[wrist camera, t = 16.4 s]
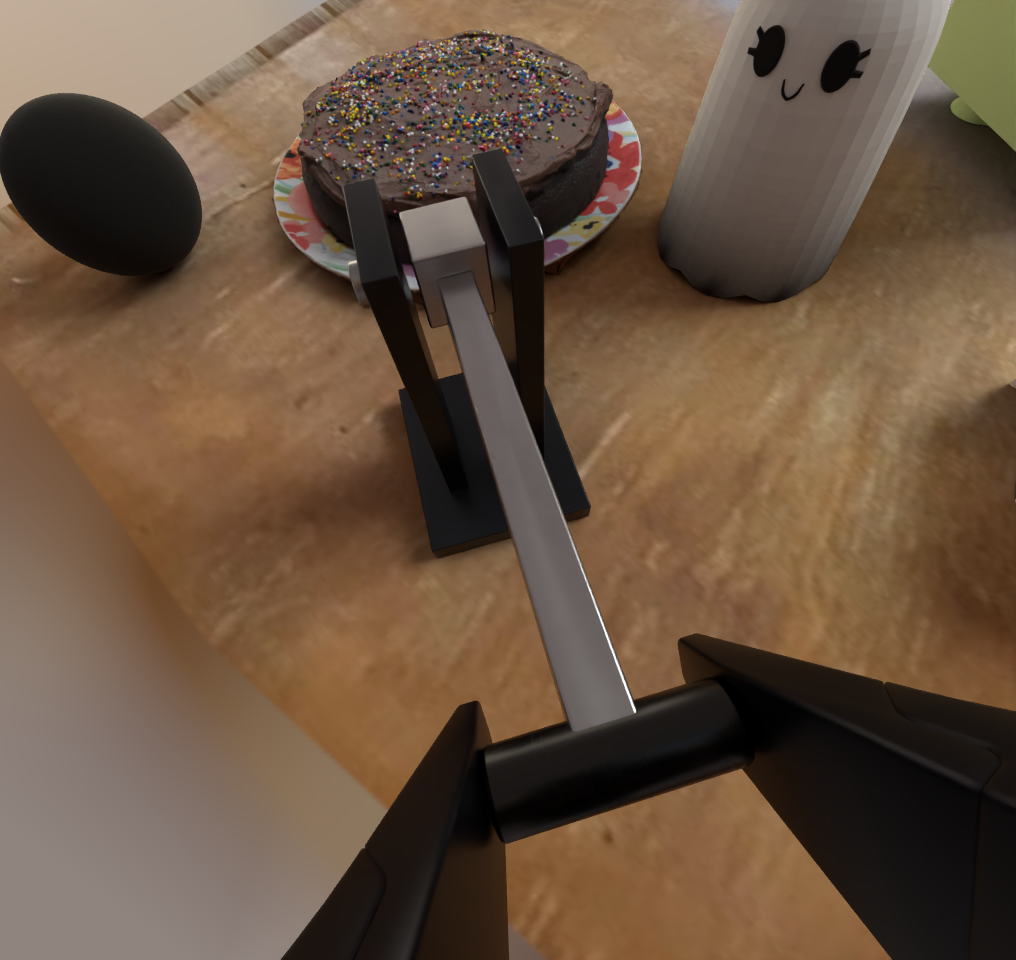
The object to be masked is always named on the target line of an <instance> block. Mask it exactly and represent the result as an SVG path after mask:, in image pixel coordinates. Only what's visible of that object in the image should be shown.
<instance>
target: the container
mask: <svg viewBox="0 0 1016 960" xmlns="http://www.w3.org/2000/svg"><path fill="white" fill-rule="evenodd" d="M928 67H929V68H930V69H931V70H932V71H933V72H934V73H935V74H936V75H937V76H938V77H939V78H940V79H941V80H942V81H943V82H944V83H945V84H946V85H948V86H949V87H950V88H951V89H952V90H953V91H954V92H955V93H956V94H957V95H958V96H959V98H957V99H955V100H954V101H953V102H952V103H951V111H952V112H953V113H954V114H955V115H956V116H957V117H958V118H960V119H962V120H964V121H966V122H970V123H973V124H978V125H989V126H990V127H991V128H992V129H993V130H994V131H995V132H996V133H997V134H998V135H999V136H1000V137H1001V138H1002V139H1003V140H1004V141H1005V142H1006V143H1007V144H1008V145H1009V146H1010V147H1011V148H1012V149H1014V150H1015V151H1016V0H955V1H954V2H953V4H952V6H951V8H950V9H949V12H948V15H947V18H946V21H945V24H944V27H943V30H942V33H941V36H940V38H939V41H938V43H937V46H936V48H935V50H934V53H933V55H932V58H931V60H930V62H929V64H928Z"/></svg>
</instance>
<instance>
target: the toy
mask: <svg viewBox="0 0 1016 960" xmlns="http://www.w3.org/2000/svg"><path fill="white" fill-rule="evenodd" d="M950 2H951V0H741V2H740V4H739V6H738V8H737V11H736V13H735V15H734V18H733V20H732V23H731V25H730V27H729V30H728V33H727V35H726V38H725V40H724V43H723V45H722V48H721V51H720V53H719V56H718V59H717V61H716V64H715V67H714V69H713V72H712V75H711V77H710V80H709V83H708V86H707V88H706V91H705V94H704V97H703V100H702V102H701V105H700V108H699V111H698V113H697V116H696V119H695V122H694V125H693V127H692V130H691V133H690V136H689V139H688V141H687V144H686V147H685V150H684V153H683V155H682V158H681V161H680V164H679V167H678V170H677V173H676V175H675V178H674V181H673V184H672V187H671V190H670V193H669V196H668V199H667V202H666V205H665V208H664V211H663V214H662V217H661V220H660V223H659V227H658V243H657V244H658V249H659V253H660V257H661V259H662V260H663V261H664V262H665V263H666V264H667V265H668V266H669V267H672V268H675V269H678V270H681V272H682V273H683V274H684V276H685V277H686V278H687V280H688V281H689V282H690V284H691V285H692V286H694V287H695V288H697V289H698V290H700V291H701V292H703V293H704V294H706V295H710V296H716V297H722V298H727V297H734V296H742V295H747V296H750V297H752V298H755V299H757V300H760V301H781V300H783V299H786V298H788V297H791V296H794V295H796V294H797V293H799V292H800V291H802V290H803V289H804V288H806V287H807V286H808V285H810V284H811V283H813V282H814V281H817V280H820V279H821V278H822V277H823V276H824V275H825V274H826V272H827V271H828V269H829V267H830V265H831V263H832V261H833V259H834V257H835V256H836V254H837V252H838V250H839V248H840V246H841V244H842V242H843V240H844V238H845V236H846V234H847V232H848V231H849V229H850V227H851V225H852V223H853V221H854V219H855V217H856V215H857V213H858V211H859V209H860V207H861V205H862V203H863V201H864V199H865V197H866V195H867V193H868V191H869V188H870V186H871V184H872V182H873V180H874V178H875V176H876V174H877V172H878V170H879V168H880V166H881V164H882V162H883V160H884V158H885V156H886V153H887V151H888V149H889V147H890V145H891V143H892V141H893V139H894V137H895V135H896V133H897V131H898V129H899V127H900V124H901V122H902V120H903V118H904V116H905V114H906V112H907V110H908V108H909V106H910V103H911V101H912V99H913V97H914V95H915V93H916V91H917V88H918V86H919V84H920V82H921V80H922V78H923V75H924V73H925V71H926V69H927V66H928V64H929V62H930V60H931V58H932V55H933V53H934V50H935V48H936V46H937V43H938V41H939V38H940V36H941V33H942V30H943V27H944V24H945V21H946V18H947V15H948V12H949V7H950Z"/></svg>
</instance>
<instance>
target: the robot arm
mask: <svg viewBox="0 0 1016 960" xmlns="http://www.w3.org/2000/svg"><path fill="white" fill-rule="evenodd" d="M678 650H679V656H680V662H681V668H682V673H683V677H684V679H685V682H686V684H687V683H691V682H694V681H697V680H700V679H704V678H707V677H711V678H716V679H718V680H719V681H720V682H721V683H722V684H723V685H724V686H725V687H726V688H727V689H728V691H729V692H730V693H731V695H732V696H733V698H734V699H735V701H736V702H737V704H738V706H739V708H740V710H741V711H742V713H743V716H744V718H745V720H746V722H747V725H748V727H749V730H750V733H751V737H752V740H753V745H754V750H755V759H754V761H753V763H752V764H751V765H750V766H748V767H745V768H742V769H743V771H744V772H745V773H746V774H747V776H748V777H749V778H750V780H751V781H752V782H753V783H754V785H755V786H756V787H757V788H758V790H759V791H760V792H761V793H762V795H763V796H764V797H765V799H766V800H767V801H768V802H769V804H770V805H771V806H772V807H773V809H774V810H775V811H776V813H777V814H778V815H779V816H780V818H781V819H782V820H783V821H784V823H785V824H786V825H787V827H788V828H789V829H790V830H791V832H792V833H793V834H794V835H795V837H796V838H797V839H798V840H799V842H800V843H801V844H802V846H803V847H804V848H805V849H806V851H807V852H808V853H809V854H810V856H811V857H812V858H813V860H814V861H815V862H816V863H817V865H818V866H819V867H820V868H821V870H822V871H823V872H824V874H825V875H826V876H827V877H828V879H829V880H830V881H831V882H832V884H833V885H834V886H835V887H836V889H837V890H838V891H839V893H840V894H841V895H842V896H843V898H844V899H845V900H846V901H847V903H848V904H849V905H850V907H851V908H852V909H853V910H854V912H855V913H856V914H857V915H858V917H859V918H860V919H861V921H862V922H863V923H864V924H865V926H866V927H867V928H868V929H869V931H870V932H871V933H872V934H873V936H874V937H875V938H876V940H877V941H878V942H879V943H880V945H881V946H882V947H883V948H884V950H885V951H886V952H887V954H888V955H889V956H890V957H891V959H892V960H1016V711H1011V710H1006V709H1002V708H997V707H992V706H988V705H983V704H978V703H974V702H969V701H964V700H959V699H955V698H951V697H946V696H942V695H938V694H934V693H930V692H926V691H922V690H917V689H913V688H910V687H906V686H902V685H898V684H894V683H890V682H886V683H885V685H884V683H883V682H882V681H880V680H876V679H872V678H868V677H864V676H860V675H856V674H853V673H849V672H845V671H841V670H837V669H833V668H829V667H825V666H822V665H818V664H814V663H810V662H806V661H802V660H798V659H794V658H791V657H787V656H783V655H779V654H775V653H771V652H767V651H763V650H760V649H756V648H752V647H748V646H744V645H740V644H736V643H733V642H729V641H725V640H721V639H717V638H713V637H709V636H705V635H702V634H692V635H689V636H686V637H682V638H680V639H679V640H678ZM489 744H492V739H491V735H490V732H489V729H488V726H487V723H486V720H485V717H484V713H483V710H482V707H481V705H480V703H479V702H478V701H472V702H469V703H465V704H462V705H460V706H459V707H458V708H457V709H456V710H455V712H454V713H453V715H452V716H451V718H450V719H449V721H448V722H447V724H446V725H445V727H444V728H443V730H442V731H441V733H440V734H439V736H438V737H437V739H436V740H435V742H434V743H433V745H432V746H431V748H430V749H429V751H428V752H427V754H426V755H425V757H424V758H423V760H422V761H421V763H420V764H419V766H418V767H417V768H416V770H415V771H414V773H413V774H412V776H411V777H410V779H409V780H408V782H407V783H406V785H405V786H404V788H403V789H402V791H401V792H400V794H399V795H398V797H397V798H396V800H395V801H394V803H393V804H392V806H391V807H390V809H389V810H388V812H387V813H386V815H385V816H384V818H383V819H382V821H381V822H380V824H379V825H378V827H377V828H376V830H375V831H374V833H373V834H372V836H371V837H370V839H369V840H368V842H367V843H366V845H365V848H364V849H362V850H361V851H360V852H359V854H358V855H357V857H356V858H355V860H354V861H353V862H352V864H351V866H350V867H349V869H348V870H347V871H346V873H345V874H344V876H343V877H342V878H341V880H340V881H339V883H338V884H337V885H336V887H335V888H334V890H333V891H332V893H331V894H330V895H329V897H328V898H327V900H326V901H325V903H324V904H323V905H322V906H321V908H320V909H319V910H318V912H317V913H316V914H315V916H314V917H313V918H312V920H311V921H310V922H309V924H308V925H307V926H306V928H305V929H304V930H303V931H302V933H301V934H300V935H299V937H298V938H297V939H296V941H295V942H294V943H293V945H292V946H291V947H290V949H289V950H288V951H287V952H286V953H285V955H284V956H283V957H282V959H281V960H509V947H508V946H509V945H508V914H507V884H506V854H505V843H502V842H501V841H500V839H499V838H498V836H497V834H496V831H495V829H494V826H493V822H492V819H491V815H490V811H489V807H488V803H487V798H486V793H485V788H484V782H483V775H482V766H481V755H482V749H483V748H484V747H485V746H486V745H489Z"/></svg>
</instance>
